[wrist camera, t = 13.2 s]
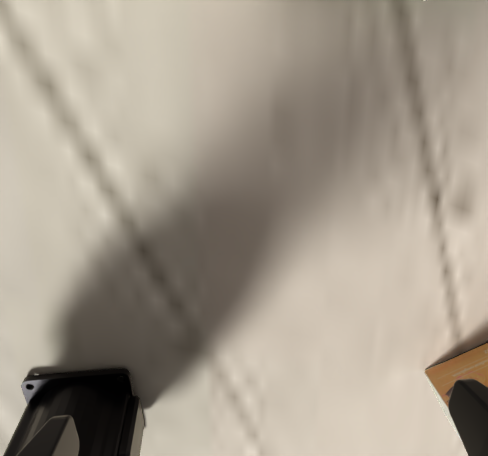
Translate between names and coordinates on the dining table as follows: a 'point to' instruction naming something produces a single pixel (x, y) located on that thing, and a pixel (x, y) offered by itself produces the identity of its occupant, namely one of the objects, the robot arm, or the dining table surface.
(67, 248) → the dining table surface
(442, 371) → the small box
